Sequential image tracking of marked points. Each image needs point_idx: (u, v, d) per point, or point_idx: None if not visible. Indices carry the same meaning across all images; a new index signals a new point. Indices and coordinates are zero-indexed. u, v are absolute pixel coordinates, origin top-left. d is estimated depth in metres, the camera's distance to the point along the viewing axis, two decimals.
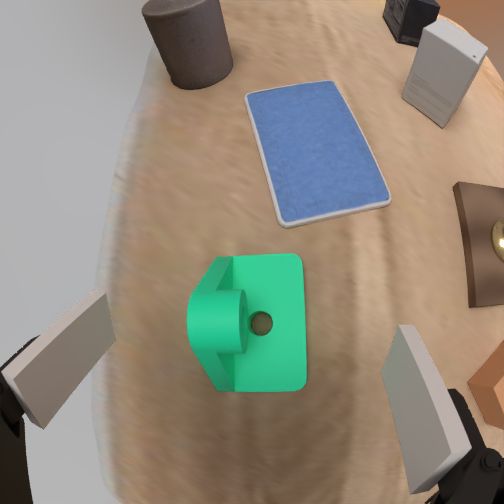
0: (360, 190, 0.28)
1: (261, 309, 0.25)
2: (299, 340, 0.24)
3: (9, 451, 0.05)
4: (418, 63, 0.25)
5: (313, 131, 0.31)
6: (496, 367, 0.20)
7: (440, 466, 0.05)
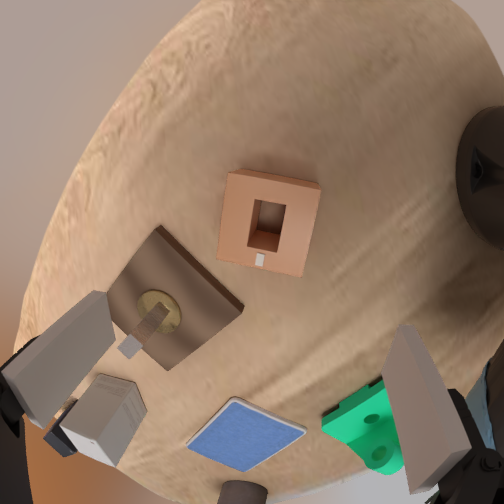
0: (247, 415, 0.36)
1: (363, 423, 0.31)
2: (367, 402, 0.30)
3: (9, 451, 0.05)
4: (128, 440, 0.34)
5: (234, 444, 0.39)
6: None
7: (440, 466, 0.05)
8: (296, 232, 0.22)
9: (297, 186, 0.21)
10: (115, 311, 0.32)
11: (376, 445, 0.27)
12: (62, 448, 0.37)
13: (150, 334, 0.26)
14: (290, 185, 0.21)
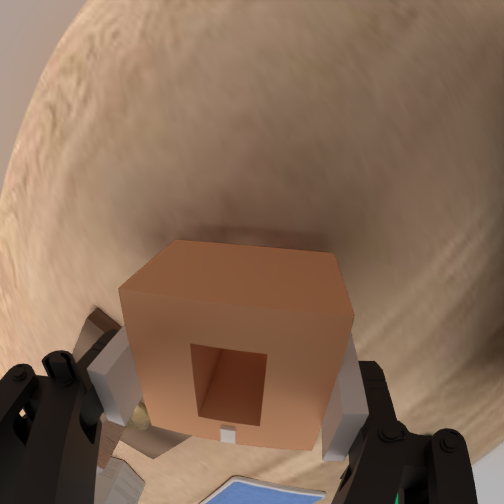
0: (254, 490, 0.26)
1: None
2: None
3: (80, 461, 0.05)
4: None
5: None
6: None
7: (338, 429, 0.07)
8: (296, 399, 0.09)
9: (292, 312, 0.08)
10: None
11: None
12: None
13: (111, 452, 0.15)
14: (272, 312, 0.08)
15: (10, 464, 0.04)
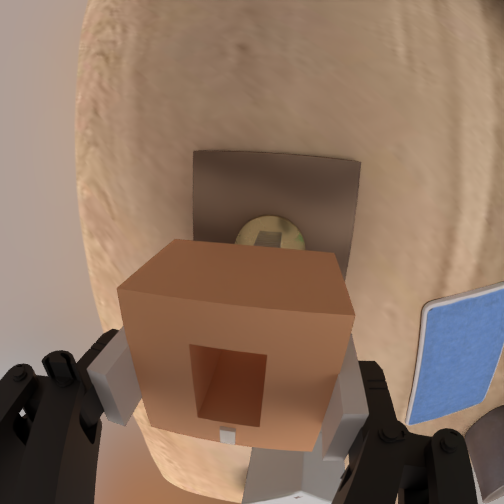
0: (452, 317, 0.23)
1: None
2: None
3: (80, 461, 0.05)
4: (342, 464, 0.23)
5: (458, 372, 0.25)
6: None
7: (338, 429, 0.07)
8: (296, 399, 0.09)
9: (292, 312, 0.08)
10: None
11: None
12: None
13: None
14: (271, 312, 0.08)
15: (10, 464, 0.04)
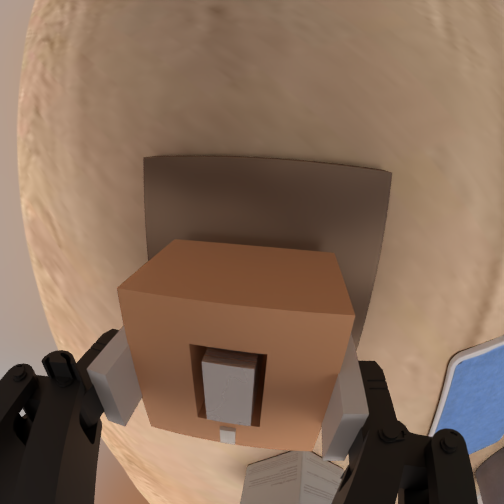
0: (482, 368, 0.16)
1: None
2: None
3: (80, 461, 0.05)
4: None
5: (479, 420, 0.18)
6: None
7: (338, 429, 0.07)
8: (296, 399, 0.09)
9: (292, 311, 0.08)
10: None
11: None
12: None
13: None
14: (271, 312, 0.08)
15: (10, 464, 0.04)
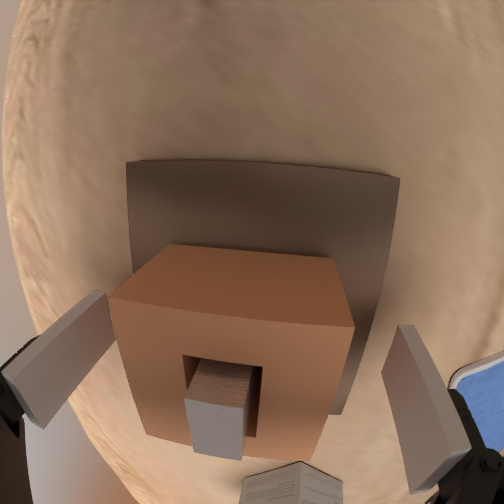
0: (486, 382, 0.15)
1: None
2: None
3: (9, 451, 0.05)
4: None
5: (482, 432, 0.17)
6: None
7: (440, 466, 0.05)
8: (293, 411, 0.08)
9: (289, 324, 0.07)
10: None
11: None
12: None
13: (248, 365, 0.08)
14: (267, 324, 0.07)
15: None
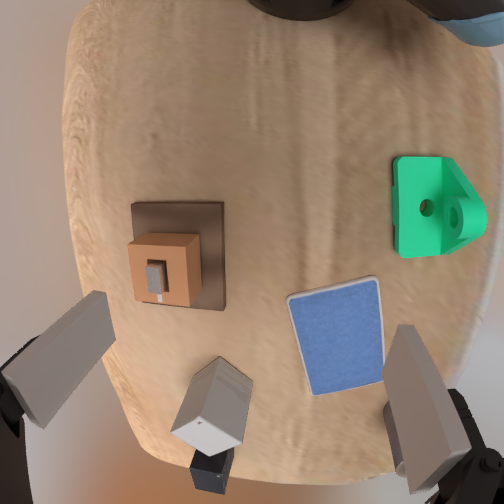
0: (313, 306, 0.37)
1: (426, 217, 0.30)
2: (402, 195, 0.30)
3: (9, 451, 0.05)
4: (244, 412, 0.37)
5: (340, 351, 0.39)
6: None
7: (440, 466, 0.05)
8: (177, 277, 0.31)
9: (169, 246, 0.30)
10: None
11: (446, 216, 0.26)
12: (211, 480, 0.41)
13: (163, 261, 0.31)
14: (165, 246, 0.30)
15: None
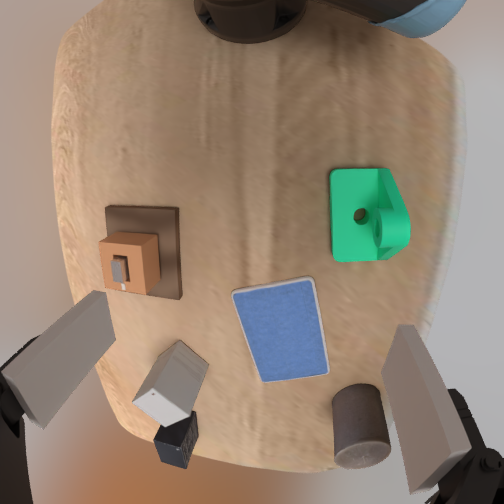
0: (254, 300, 0.43)
1: (360, 225, 0.36)
2: (336, 205, 0.35)
3: (9, 451, 0.05)
4: (195, 389, 0.43)
5: (282, 342, 0.45)
6: None
7: (440, 466, 0.05)
8: (135, 270, 0.37)
9: (129, 245, 0.36)
10: None
11: (373, 226, 0.31)
12: (173, 453, 0.47)
13: (125, 257, 0.37)
14: (126, 245, 0.36)
15: None
